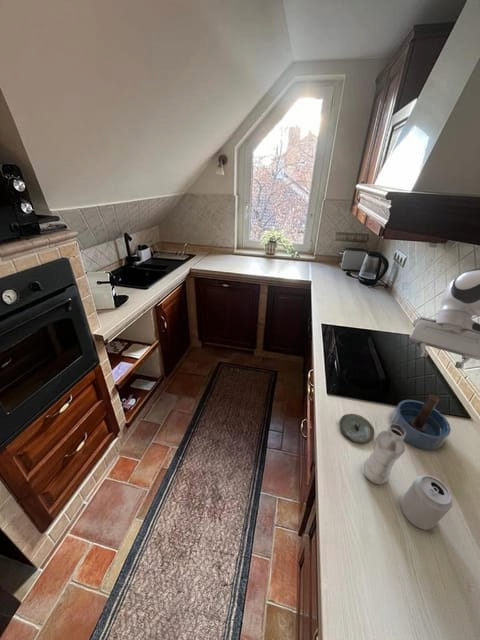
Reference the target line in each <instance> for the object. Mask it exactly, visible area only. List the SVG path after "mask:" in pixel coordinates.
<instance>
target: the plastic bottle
mask: <svg viewBox="0 0 480 640" xmlns="http://www.w3.org/2000/svg"><path fill="white" fill-rule="evenodd" d="M405 435H406V432H405V430H404V428H403V427H401V426H400V425H398V424H392V423H391V424H390V425H389V426H388V428H386V430H382V431H380V432H379V433H378V434H377V436H376V438H375V444H374V447H373V450H372V452H371V453H370V455H369V456H368V457H367V458H366V459H365V461H364V462H363V467H362V469H363V474H364V475H365V477H366V478H367V479H368V481H369V482H371V483H372V484H376V485H383V484H385V483H386V482H387V481H388V480H389V478H390V476H391V471H392V469H393V466H394V465H395V463H396V462H397V461H398V460H399V458H401V456H403V454H404V453H405V451H406V445H405V440H404V437H405Z"/></svg>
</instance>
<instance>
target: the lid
mask: <svg viewBox="0 0 480 640" xmlns="http://www.w3.org/2000/svg"><path fill="white" fill-rule="evenodd" d="M339 429H340V432H341V433H342V435H344V436H345V437H346V438H347V439H348V440H350V441H351V442H353V443H357V444H367V443H369V442H371V441H372V440H373V439H374V437H375V428H374V427H373V425H372V423H371V422H370V421H369V420H368V419H367V418H365V417H363V416H362V415H360V414H356V413H346V414H344V415H342V416H341V418H340V420H339Z"/></svg>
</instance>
